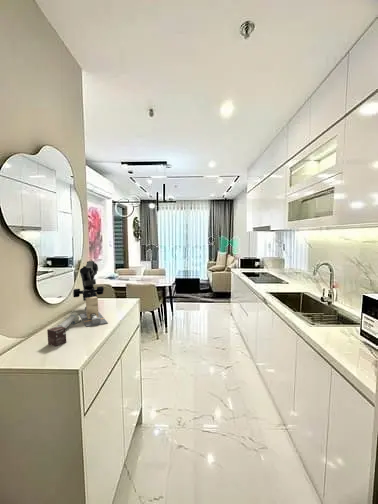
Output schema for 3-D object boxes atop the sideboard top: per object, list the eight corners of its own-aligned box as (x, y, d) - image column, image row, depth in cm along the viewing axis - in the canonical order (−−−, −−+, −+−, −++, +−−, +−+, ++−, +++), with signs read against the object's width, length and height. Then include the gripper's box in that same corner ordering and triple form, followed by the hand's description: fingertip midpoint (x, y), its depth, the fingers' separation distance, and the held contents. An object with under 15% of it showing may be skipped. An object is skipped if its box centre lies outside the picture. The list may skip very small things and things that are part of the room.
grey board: (79, 315, 194) (79, 309, 194) (98, 312, 199) (98, 307, 199) (86, 326, 167) (85, 320, 167) (107, 323, 173) (107, 317, 172)
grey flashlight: (52, 328, 154) (71, 309, 179) (53, 340, 156) (72, 320, 180) (62, 328, 154) (80, 309, 179) (63, 339, 156) (81, 319, 180)
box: (55, 346, 138) (54, 331, 138) (47, 344, 141) (46, 329, 141) (66, 342, 143) (65, 327, 143) (59, 340, 146) (58, 325, 146)
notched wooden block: (86, 317, 185) (85, 297, 184) (97, 315, 188) (96, 296, 187) (87, 318, 180) (86, 299, 180) (98, 317, 183) (97, 297, 183)
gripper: (72, 276, 188) (75, 296, 179) (102, 274, 197) (106, 293, 187) (72, 287, 196) (74, 307, 186) (101, 284, 204) (104, 303, 195)
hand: (90, 302), depth 188 cm, fingers closed
